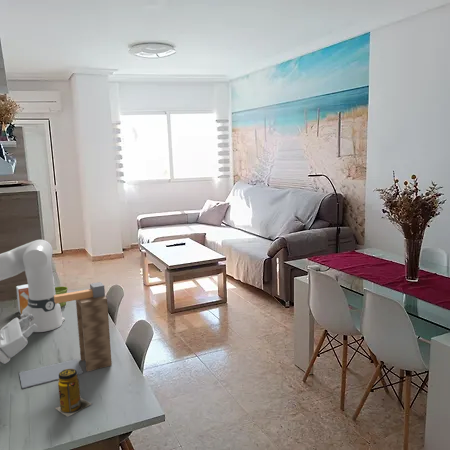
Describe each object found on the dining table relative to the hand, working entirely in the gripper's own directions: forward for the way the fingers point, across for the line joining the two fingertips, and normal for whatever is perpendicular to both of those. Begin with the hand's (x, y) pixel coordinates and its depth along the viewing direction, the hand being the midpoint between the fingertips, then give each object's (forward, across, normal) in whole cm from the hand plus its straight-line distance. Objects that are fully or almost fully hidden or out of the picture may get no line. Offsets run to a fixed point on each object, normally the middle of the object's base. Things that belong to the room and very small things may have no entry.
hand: (34, 320), depth 154 cm
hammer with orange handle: (+16, 0, -3) cm, 16 cm away
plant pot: (+5, -72, -27) cm, 77 cm away
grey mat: (-7, 0, -20) cm, 21 cm away
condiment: (-5, +26, -22) cm, 34 cm away
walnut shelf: (+6, 0, -28) cm, 29 cm away
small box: (-8, -72, -20) cm, 75 cm away
